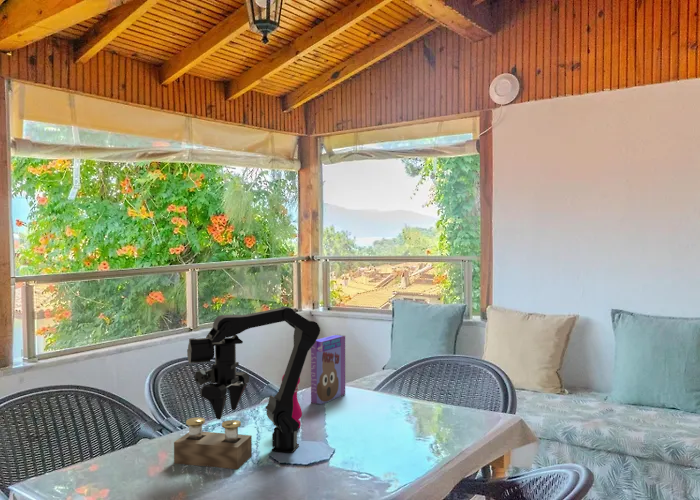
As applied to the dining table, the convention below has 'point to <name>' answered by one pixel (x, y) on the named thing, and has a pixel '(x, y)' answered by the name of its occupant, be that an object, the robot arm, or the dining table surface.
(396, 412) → the dining table surface
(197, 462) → the block
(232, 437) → the peg
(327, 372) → the cereal box
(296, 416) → the pepper mill
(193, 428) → the peg
